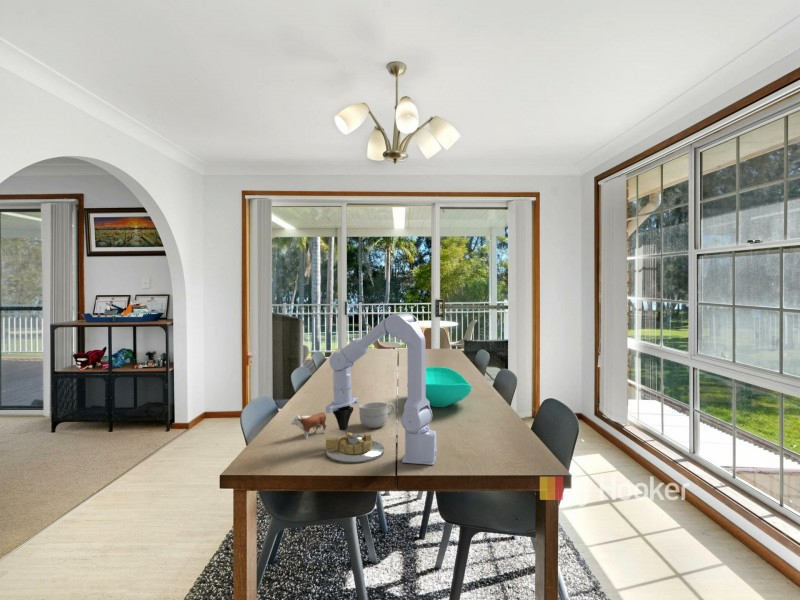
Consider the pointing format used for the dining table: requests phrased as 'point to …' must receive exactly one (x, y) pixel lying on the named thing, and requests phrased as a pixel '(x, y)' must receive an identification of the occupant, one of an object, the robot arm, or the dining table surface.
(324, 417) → the bull figurine
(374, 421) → the teacup
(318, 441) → the dining table surface
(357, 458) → the flange
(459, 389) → the table top decor
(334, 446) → the ring nut
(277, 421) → the dining table surface
